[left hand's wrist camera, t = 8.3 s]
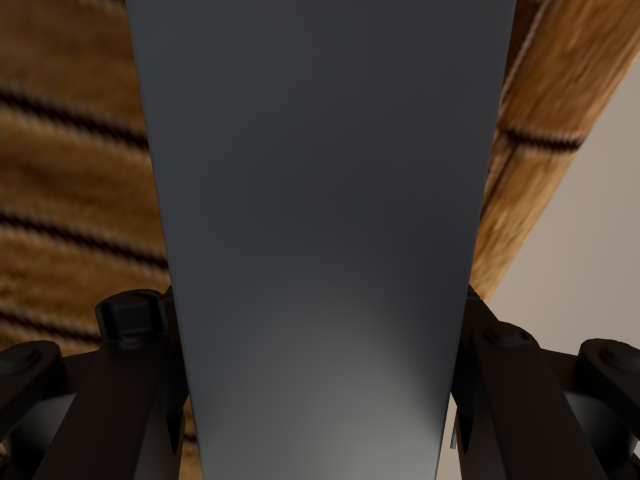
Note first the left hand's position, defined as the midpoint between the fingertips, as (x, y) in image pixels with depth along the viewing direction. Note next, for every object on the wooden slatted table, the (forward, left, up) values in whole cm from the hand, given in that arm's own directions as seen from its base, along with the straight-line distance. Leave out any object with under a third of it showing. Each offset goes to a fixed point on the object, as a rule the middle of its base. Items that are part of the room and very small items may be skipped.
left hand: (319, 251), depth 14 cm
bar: (-2, +9, -1) cm, 9 cm away
